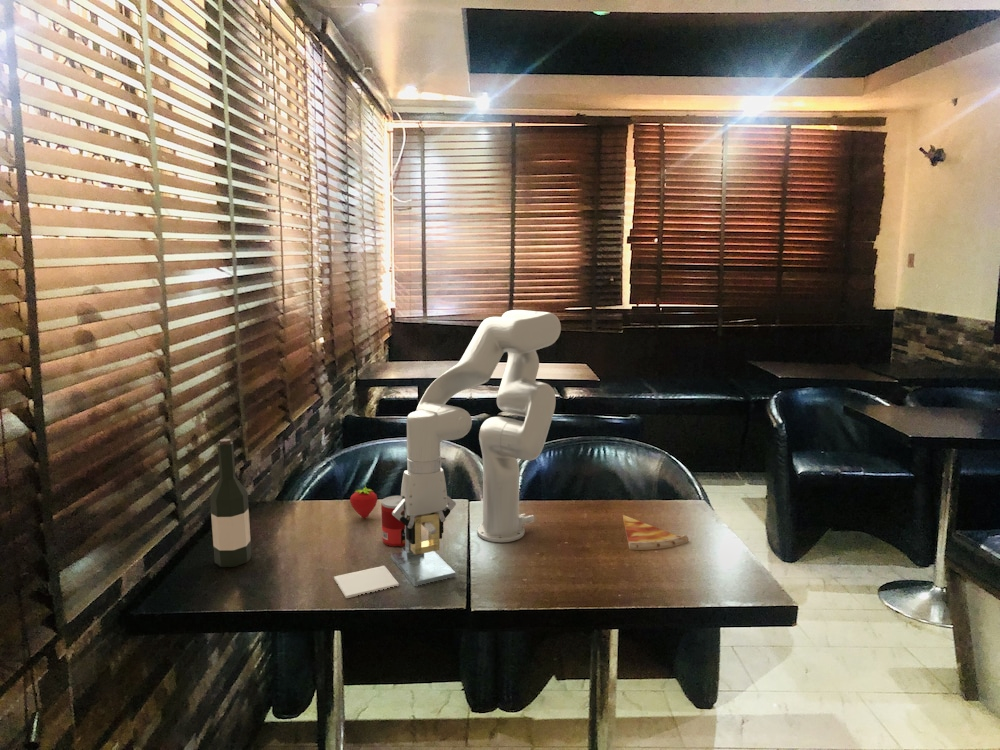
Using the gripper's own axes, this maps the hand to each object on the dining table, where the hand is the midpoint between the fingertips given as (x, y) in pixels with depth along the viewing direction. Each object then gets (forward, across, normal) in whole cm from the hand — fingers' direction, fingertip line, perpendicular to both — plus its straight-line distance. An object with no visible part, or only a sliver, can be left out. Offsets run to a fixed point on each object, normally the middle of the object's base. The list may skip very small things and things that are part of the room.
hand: (424, 538), depth 158 cm
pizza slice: (+9, -63, +8) cm, 64 cm away
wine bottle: (+8, +39, -27) cm, 48 cm away
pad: (+8, +14, -1) cm, 16 cm away
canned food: (+8, 0, -19) cm, 21 cm away
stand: (+8, 0, -2) cm, 8 cm away
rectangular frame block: (+3, 0, 0) cm, 3 cm away
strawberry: (+8, +3, -38) cm, 39 cm away
